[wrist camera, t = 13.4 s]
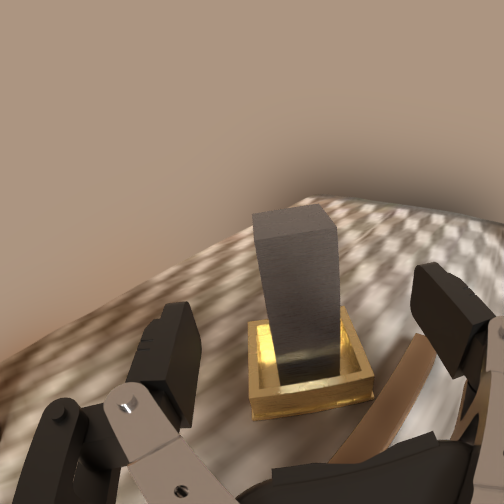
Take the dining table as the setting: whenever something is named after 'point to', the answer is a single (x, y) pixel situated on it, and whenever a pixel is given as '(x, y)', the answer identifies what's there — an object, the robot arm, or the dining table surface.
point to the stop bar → (301, 290)
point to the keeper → (309, 393)
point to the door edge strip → (389, 405)
